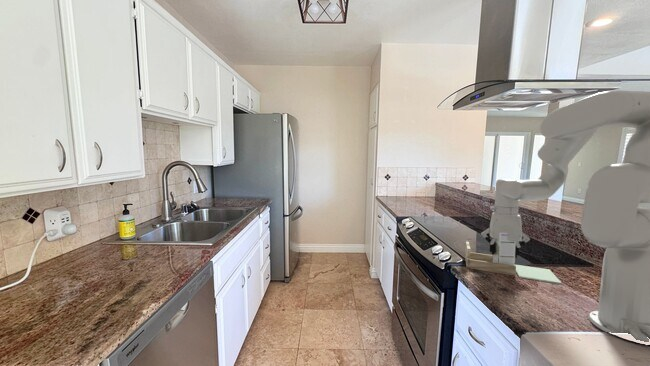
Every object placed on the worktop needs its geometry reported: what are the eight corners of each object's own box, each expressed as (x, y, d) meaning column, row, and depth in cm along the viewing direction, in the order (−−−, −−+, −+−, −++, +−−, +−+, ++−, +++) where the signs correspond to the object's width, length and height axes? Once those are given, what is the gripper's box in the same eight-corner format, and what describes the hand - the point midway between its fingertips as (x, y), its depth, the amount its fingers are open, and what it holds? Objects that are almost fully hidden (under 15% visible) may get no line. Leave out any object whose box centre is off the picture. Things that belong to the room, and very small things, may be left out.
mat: (561, 284, 89) (561, 282, 88) (519, 277, 94) (519, 276, 94) (549, 270, 99) (549, 269, 99) (512, 265, 105) (512, 264, 104)
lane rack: (515, 275, 95) (516, 255, 94) (466, 267, 102) (467, 248, 101) (509, 265, 104) (510, 246, 103) (465, 259, 111) (466, 241, 110)
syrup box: (515, 269, 97) (517, 232, 96) (498, 268, 98) (500, 232, 97) (507, 264, 103) (509, 229, 102) (491, 263, 104) (493, 228, 103)
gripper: (481, 210, 99) (479, 254, 101) (537, 214, 92) (534, 262, 93) (479, 207, 106) (477, 249, 107) (530, 210, 98) (528, 255, 100)
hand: (503, 254), depth 100 cm, fingers closed on syrup box, 6 cm apart
